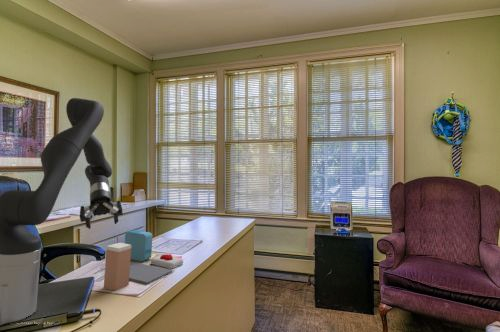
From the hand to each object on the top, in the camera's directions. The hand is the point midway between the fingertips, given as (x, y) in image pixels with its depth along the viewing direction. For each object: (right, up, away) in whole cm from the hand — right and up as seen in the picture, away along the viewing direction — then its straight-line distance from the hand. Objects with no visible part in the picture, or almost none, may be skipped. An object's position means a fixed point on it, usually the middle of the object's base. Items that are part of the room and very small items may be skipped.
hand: (102, 224), depth 101 cm
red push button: (+18, -22, +20) cm, 35 cm away
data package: (+3, -21, +24) cm, 32 cm away
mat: (+11, -20, +7) cm, 24 cm away
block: (+8, -20, -6) cm, 22 cm away
